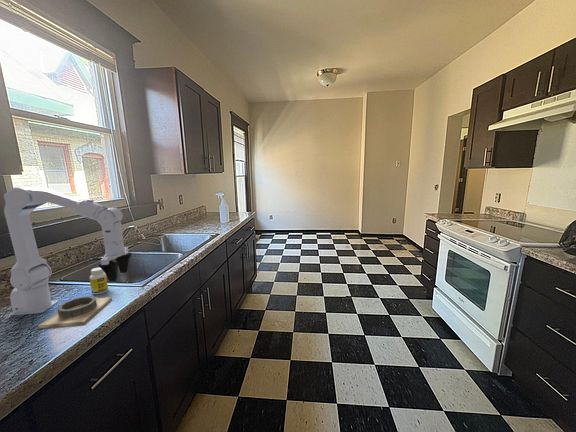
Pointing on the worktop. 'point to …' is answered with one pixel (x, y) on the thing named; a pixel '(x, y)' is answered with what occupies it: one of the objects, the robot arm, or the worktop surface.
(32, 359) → the worktop surface
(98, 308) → the socket plate
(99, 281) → the supplement bottle
